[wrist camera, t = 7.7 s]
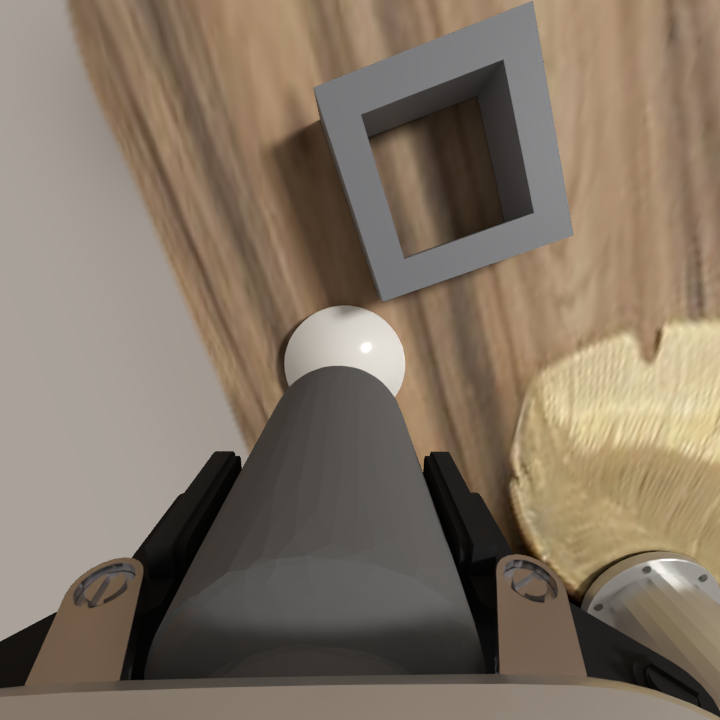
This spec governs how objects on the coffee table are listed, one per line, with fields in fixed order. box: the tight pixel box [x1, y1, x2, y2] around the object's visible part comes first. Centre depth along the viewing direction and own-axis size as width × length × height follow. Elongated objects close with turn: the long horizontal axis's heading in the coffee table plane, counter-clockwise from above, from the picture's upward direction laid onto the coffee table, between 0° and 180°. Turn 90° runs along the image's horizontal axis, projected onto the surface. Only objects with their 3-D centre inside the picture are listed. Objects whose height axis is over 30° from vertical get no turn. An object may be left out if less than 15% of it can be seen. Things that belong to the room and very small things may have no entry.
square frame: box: [313, 1, 573, 302], centre depth 22 cm, size 12×12×4 cm
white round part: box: [284, 305, 405, 397], centre depth 26 cm, size 9×9×1 cm
